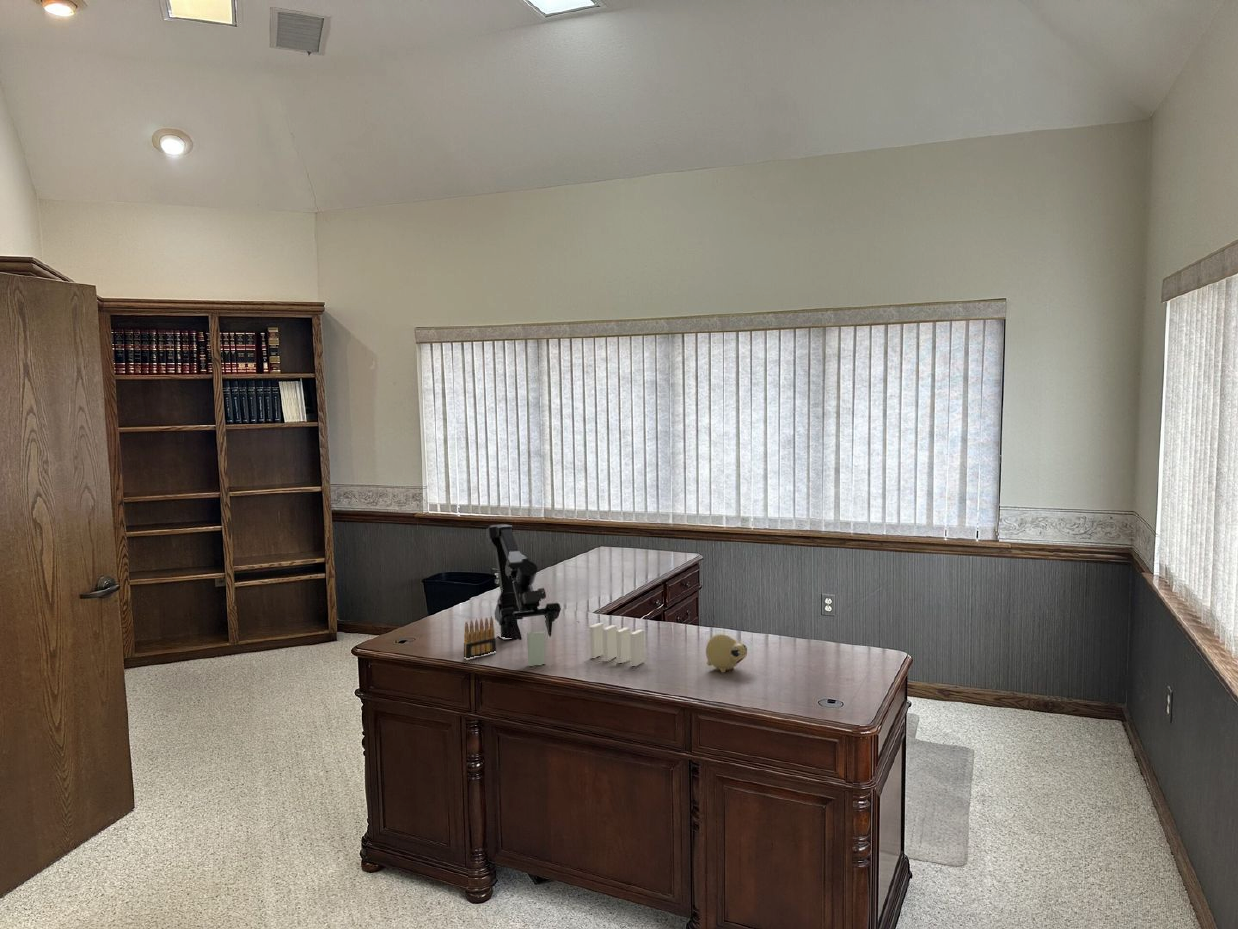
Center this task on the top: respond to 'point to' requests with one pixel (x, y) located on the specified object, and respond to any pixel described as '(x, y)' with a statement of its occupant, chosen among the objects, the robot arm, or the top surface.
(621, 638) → the domino
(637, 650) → the domino
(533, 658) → the domino
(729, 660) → the beige round figure
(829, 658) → the top surface
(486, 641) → the ammunition clip
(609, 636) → the domino
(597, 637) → the domino
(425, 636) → the top surface
